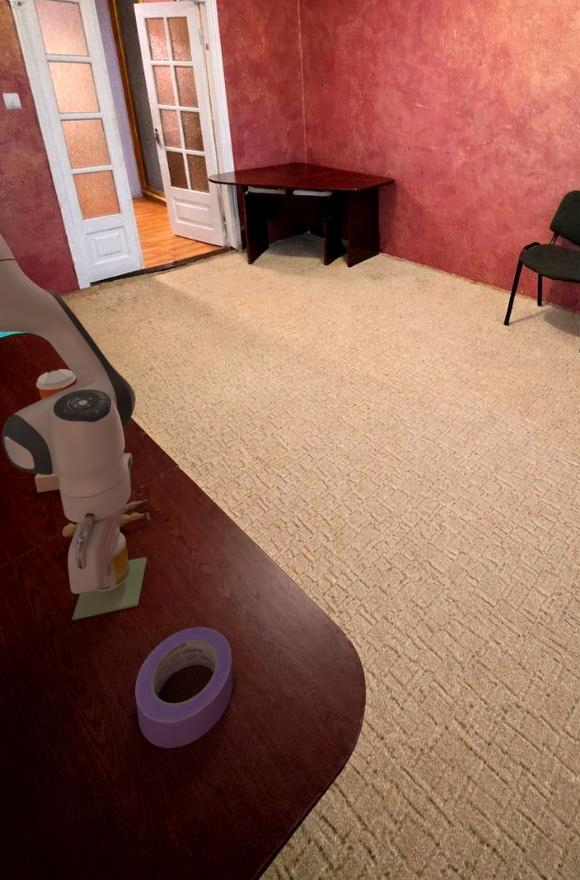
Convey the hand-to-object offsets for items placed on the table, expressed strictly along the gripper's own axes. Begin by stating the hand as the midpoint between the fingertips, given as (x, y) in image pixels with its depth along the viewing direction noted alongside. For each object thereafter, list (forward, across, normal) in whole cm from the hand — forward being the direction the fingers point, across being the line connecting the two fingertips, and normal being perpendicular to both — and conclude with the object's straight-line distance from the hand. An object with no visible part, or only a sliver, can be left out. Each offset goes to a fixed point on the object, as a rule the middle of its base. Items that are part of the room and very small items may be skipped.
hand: (108, 560), depth 78 cm
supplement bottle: (+4, 0, 0) cm, 4 cm away
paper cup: (+6, +49, +21) cm, 53 cm away
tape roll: (+6, -20, -13) cm, 25 cm away
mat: (+6, 0, 0) cm, 6 cm away
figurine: (+6, +13, +3) cm, 14 cm away
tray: (+6, +33, +12) cm, 35 cm away
